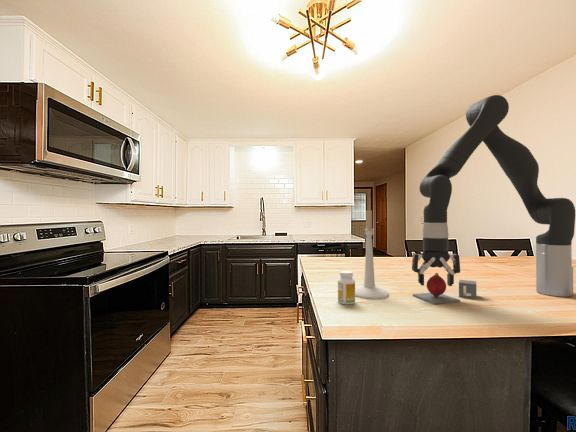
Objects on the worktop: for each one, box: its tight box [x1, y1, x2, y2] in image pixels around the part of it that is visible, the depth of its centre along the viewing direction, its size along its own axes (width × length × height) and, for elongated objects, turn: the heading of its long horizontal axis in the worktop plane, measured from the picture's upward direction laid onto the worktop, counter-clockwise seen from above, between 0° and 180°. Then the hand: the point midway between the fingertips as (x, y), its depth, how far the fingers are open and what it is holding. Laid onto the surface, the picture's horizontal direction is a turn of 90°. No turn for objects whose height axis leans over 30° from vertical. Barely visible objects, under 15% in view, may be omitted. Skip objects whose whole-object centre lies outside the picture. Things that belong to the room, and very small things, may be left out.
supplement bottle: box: [337, 270, 356, 305], centre depth 94 cm, size 5×5×10 cm
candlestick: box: [355, 209, 390, 300], centre depth 104 cm, size 13×13×30 cm
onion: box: [426, 272, 447, 297], centre depth 97 cm, size 6×6×8 cm
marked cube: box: [458, 279, 477, 300], centre depth 100 cm, size 5×5×5 cm
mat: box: [412, 292, 461, 305], centre depth 98 cm, size 10×10×1 cm
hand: (435, 285), depth 98 cm, fingers open, 8 cm apart
